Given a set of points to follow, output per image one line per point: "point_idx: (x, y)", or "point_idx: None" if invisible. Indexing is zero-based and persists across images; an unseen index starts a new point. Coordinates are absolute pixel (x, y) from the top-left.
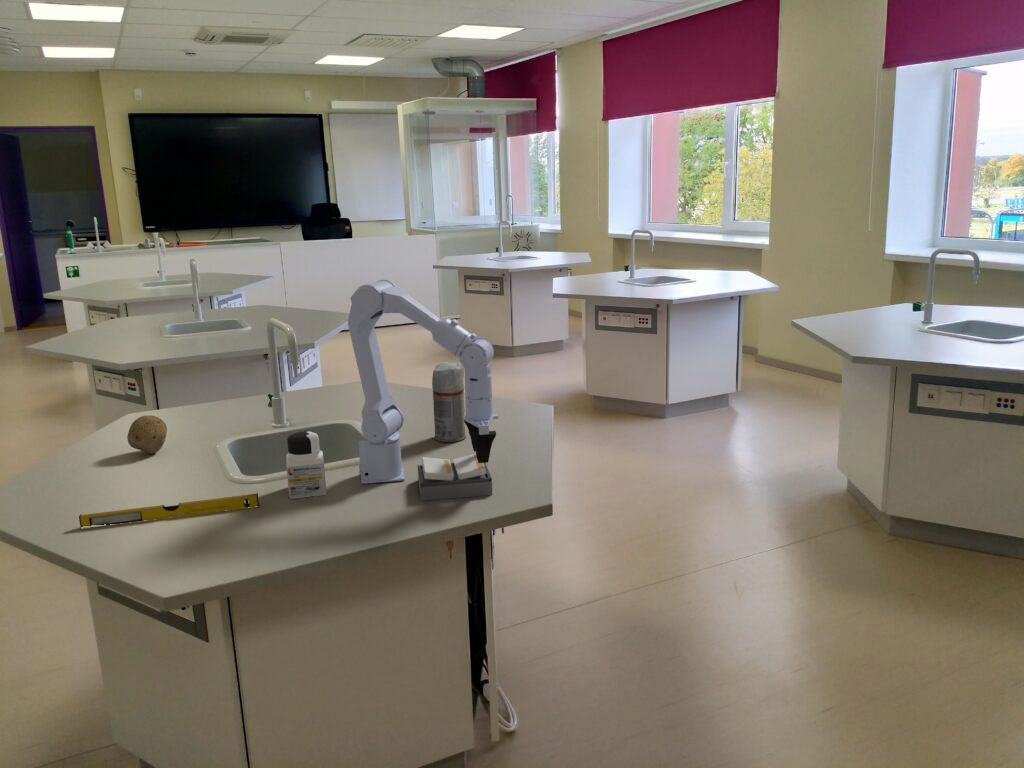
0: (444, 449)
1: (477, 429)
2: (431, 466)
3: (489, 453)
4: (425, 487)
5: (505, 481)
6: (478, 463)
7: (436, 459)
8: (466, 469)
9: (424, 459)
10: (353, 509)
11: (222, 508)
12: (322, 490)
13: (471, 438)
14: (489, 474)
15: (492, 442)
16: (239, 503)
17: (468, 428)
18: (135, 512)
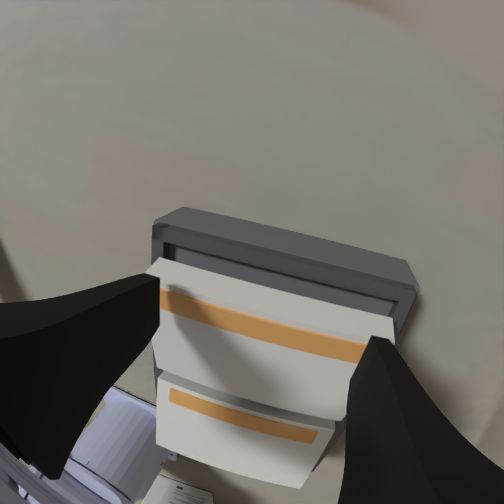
0: (9, 247)
1: (62, 393)
2: (244, 462)
3: (415, 378)
4: (322, 459)
5: (288, 147)
6: (307, 347)
7: (168, 419)
8: (324, 394)
9: (176, 449)
10: (292, 496)
11: None
12: (210, 501)
13: (112, 384)
14: (363, 281)
15: (474, 447)
16: None
17: (73, 441)
18: None
